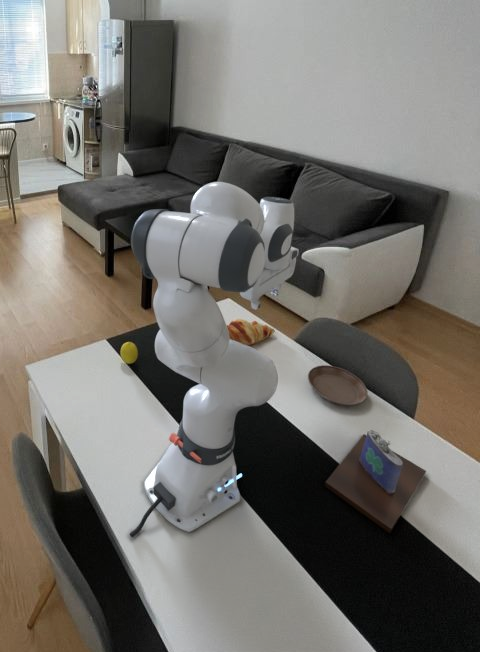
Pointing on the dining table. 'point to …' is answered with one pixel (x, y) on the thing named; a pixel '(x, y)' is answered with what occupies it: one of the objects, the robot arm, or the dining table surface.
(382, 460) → the flask
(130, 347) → the lemon
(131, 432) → the dining table surface
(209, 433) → the robot arm
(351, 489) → the cutting board
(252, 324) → the croissant
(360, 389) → the saucer
